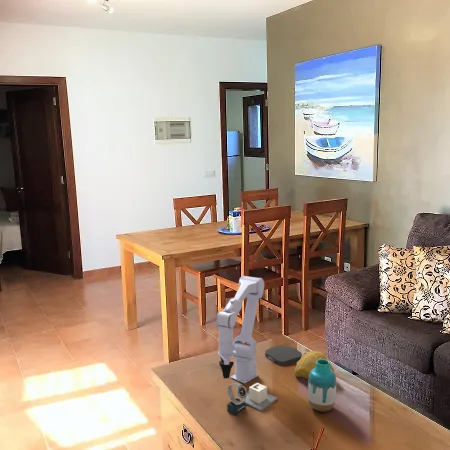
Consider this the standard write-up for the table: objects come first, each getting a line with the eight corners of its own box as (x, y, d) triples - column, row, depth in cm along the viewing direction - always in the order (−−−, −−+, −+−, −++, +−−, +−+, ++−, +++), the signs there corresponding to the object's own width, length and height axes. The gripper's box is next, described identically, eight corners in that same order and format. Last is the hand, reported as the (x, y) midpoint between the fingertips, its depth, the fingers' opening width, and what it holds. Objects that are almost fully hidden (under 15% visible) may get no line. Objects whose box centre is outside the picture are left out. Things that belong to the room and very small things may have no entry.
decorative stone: (304, 386, 203) (327, 356, 204) (283, 366, 215) (305, 339, 216) (320, 398, 210) (342, 370, 211) (299, 378, 222) (320, 352, 224)
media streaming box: (305, 360, 232) (305, 354, 231) (280, 367, 224) (281, 361, 224) (285, 348, 244) (285, 343, 244) (261, 355, 237) (261, 349, 236)
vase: (337, 403, 193) (338, 358, 190) (333, 418, 184) (335, 370, 180) (309, 399, 197) (311, 354, 193) (305, 413, 187) (306, 365, 184)
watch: (239, 417, 184) (240, 390, 182) (223, 409, 190) (223, 382, 188) (249, 411, 188) (249, 384, 186) (233, 403, 194) (233, 377, 192)
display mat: (255, 390, 204) (255, 388, 203) (277, 399, 197) (277, 397, 196) (238, 401, 195) (238, 399, 195) (261, 411, 188) (261, 409, 188)
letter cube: (248, 398, 196) (249, 386, 195) (257, 394, 199) (257, 382, 198) (258, 403, 192) (258, 391, 191) (266, 398, 196) (267, 386, 195)
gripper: (237, 349, 189) (237, 382, 191) (234, 333, 203) (234, 364, 206) (218, 349, 189) (218, 382, 191) (217, 334, 203) (217, 365, 205)
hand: (225, 373), depth 198 cm, fingers open, 7 cm apart
